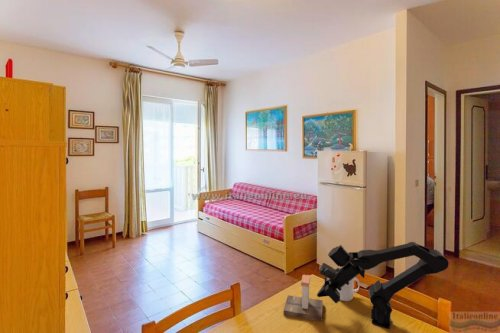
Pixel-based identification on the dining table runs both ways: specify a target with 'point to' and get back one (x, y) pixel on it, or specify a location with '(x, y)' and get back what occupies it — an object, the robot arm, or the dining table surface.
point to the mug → (348, 290)
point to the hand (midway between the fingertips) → (317, 295)
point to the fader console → (296, 310)
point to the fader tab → (305, 290)
